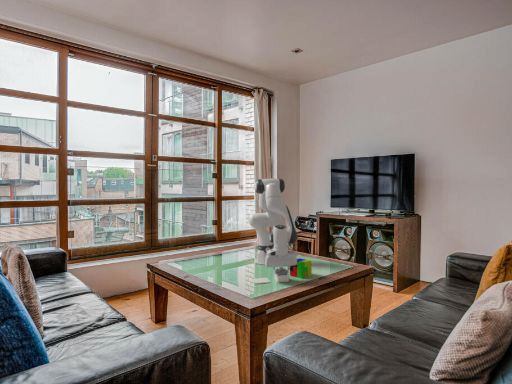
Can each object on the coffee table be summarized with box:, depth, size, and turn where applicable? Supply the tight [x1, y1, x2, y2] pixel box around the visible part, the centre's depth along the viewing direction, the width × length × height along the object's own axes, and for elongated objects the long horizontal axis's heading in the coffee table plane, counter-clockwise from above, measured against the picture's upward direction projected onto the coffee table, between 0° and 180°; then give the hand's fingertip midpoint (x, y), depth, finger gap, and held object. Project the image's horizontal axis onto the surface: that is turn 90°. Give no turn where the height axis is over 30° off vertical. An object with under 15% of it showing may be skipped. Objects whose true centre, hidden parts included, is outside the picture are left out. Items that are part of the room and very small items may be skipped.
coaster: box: [251, 277, 271, 285], centre depth 208 cm, size 10×10×1 cm
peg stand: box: [274, 266, 290, 283], centre depth 209 cm, size 7×7×8 cm
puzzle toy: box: [289, 257, 312, 279], centre depth 219 cm, size 10×10×10 cm
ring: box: [275, 268, 289, 276], centre depth 209 cm, size 6×6×2 cm
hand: (281, 273), depth 209 cm, fingers closed on ring, 6 cm apart
